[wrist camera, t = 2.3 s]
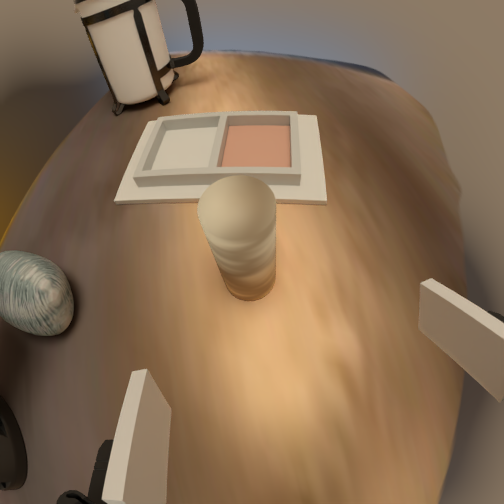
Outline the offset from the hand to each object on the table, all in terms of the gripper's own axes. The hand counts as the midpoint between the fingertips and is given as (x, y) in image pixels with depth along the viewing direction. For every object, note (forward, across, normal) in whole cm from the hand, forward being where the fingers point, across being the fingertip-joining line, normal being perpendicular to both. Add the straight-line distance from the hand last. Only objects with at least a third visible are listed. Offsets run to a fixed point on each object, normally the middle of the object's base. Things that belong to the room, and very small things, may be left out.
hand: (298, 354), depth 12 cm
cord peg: (+17, 0, -3) cm, 17 cm away
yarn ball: (+20, -26, 0) cm, 32 cm away
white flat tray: (+29, 0, +10) cm, 31 cm away
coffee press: (+46, -8, +26) cm, 53 cm away
